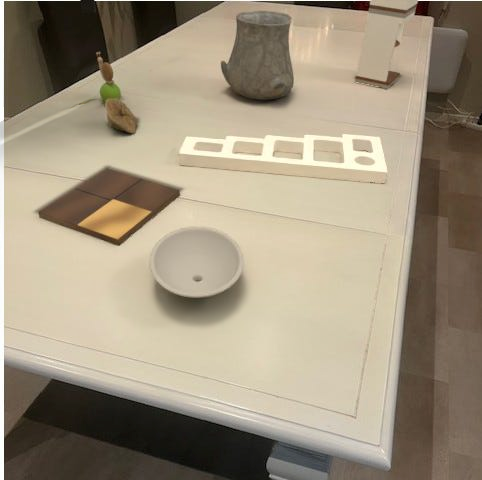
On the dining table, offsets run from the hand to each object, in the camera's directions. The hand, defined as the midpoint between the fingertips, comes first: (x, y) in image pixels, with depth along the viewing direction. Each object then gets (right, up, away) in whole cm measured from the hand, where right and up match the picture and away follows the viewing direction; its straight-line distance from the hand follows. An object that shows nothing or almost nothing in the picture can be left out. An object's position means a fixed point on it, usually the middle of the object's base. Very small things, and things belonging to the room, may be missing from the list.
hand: (96, 5), depth 104 cm
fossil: (+2, -21, +15) cm, 26 cm away
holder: (+41, -31, +7) cm, 52 cm away
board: (+7, -46, -11) cm, 48 cm away
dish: (+24, -62, -27) cm, 72 cm away
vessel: (+37, -4, +36) cm, 52 cm away
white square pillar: (+75, +7, +49) cm, 90 cm away
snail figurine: (-4, -10, +27) cm, 29 cm away
